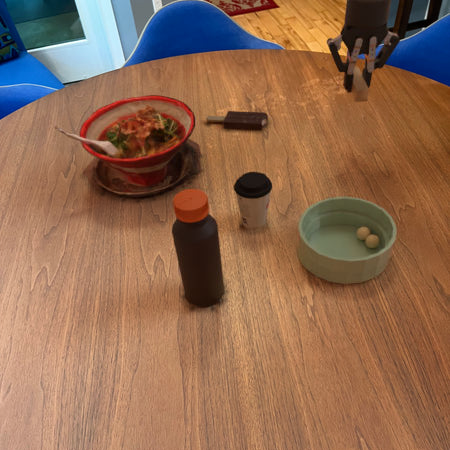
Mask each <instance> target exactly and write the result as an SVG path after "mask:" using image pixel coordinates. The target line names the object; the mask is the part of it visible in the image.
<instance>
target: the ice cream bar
mask: <svg viewBox="0 0 450 450" xmlns="http://www.w3.org/2000/svg"><path fill="white" fill-rule="evenodd" d="M205 119H206V120H205V121H207V122H214V123H215V122H216V123H222V125H223V128H224V129H237V130H255V131H261V130H263V127H264V126H265V125H268V123H269V122H268V121H269V114H268V113H267V112H265V111H264V112H260V111H240V110H238V111H237V110H227V113H226V115H225V116H221V115H217V116H216V115H208V116H206V118H205Z"/></svg>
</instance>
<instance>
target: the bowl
mask: <svg viewBox="0 0 450 450" xmlns="http://www.w3.org/2000/svg"><path fill="white" fill-rule="evenodd" d="M361 227H367V228H368V229H369V230H370V233H371V234H370V235H376V236H377V237H378V238H379V240H380V242H379V245H378V246H377V247H376V248H369V247H367V245H366V243H365V241H366V240H360V239H359V238H358V237H357V231H358V229H359V228H361ZM397 230H398V228H397V225H396V222H395V220H394V217H393V216H391V214H390V213H389V212H387V210H386V209H384V208H383V207H382V206H379V205H378V204H376V203H374V202H372V201H369V200H366V199H364V198H361V197H353V196H333V197H328V198H324V199H321V200H318V201H316V202H314V203H313V204H311V205H310V206H308V207H307V208H306V209H305V210H304V211H303V213H302V214H301V215H300V216H299V220H298V224H297V233H296V235H297V236H296V252H297V258H298V261H299V262H300V263H301V264H302V266H303V268H305V269H306V270H307V271H308V272H309V273H311V274H312V275H313V276H315V277H317V278H319V279H322V280H324V281H327V282H329V283H335V284H341V285H342V284H343V285H349V284H350V285H351V284H361V283H364V282H367V281H369V280H372V279H375V278H377V277H378V276H379V275H380V274H382V273H383V272H384V271H385V270H386V268H387V267H388V265H389V263H390V261H391V259H392V254H393V251H394V247H395V244H396V239H397Z"/></svg>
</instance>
